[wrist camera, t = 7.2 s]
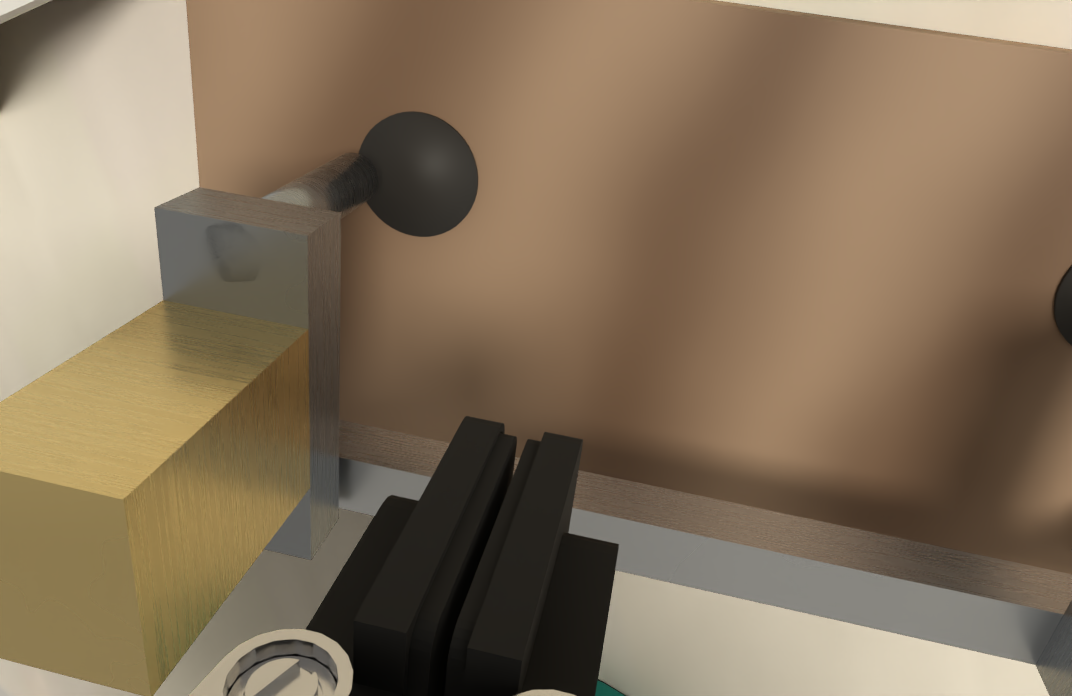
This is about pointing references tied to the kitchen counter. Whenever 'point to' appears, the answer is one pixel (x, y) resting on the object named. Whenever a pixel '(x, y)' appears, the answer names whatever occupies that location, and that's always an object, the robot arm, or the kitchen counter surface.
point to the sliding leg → (181, 438)
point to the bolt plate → (700, 282)
